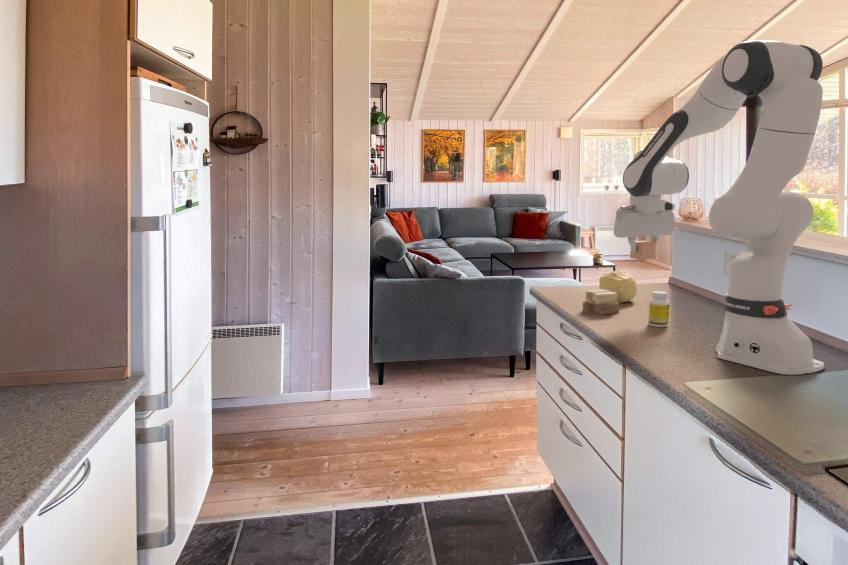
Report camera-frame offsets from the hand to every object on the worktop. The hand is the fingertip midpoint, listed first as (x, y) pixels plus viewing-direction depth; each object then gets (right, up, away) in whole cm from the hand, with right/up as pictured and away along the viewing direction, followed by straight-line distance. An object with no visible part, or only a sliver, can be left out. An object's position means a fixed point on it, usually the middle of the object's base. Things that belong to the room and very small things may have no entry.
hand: (642, 251), depth 173 cm
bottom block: (-9, -19, +12) cm, 25 cm away
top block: (-9, -16, +11) cm, 22 cm away
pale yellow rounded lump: (+2, -16, +27) cm, 32 cm away
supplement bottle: (+2, -22, -6) cm, 23 cm away
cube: (0, -2, 0) cm, 2 cm away
